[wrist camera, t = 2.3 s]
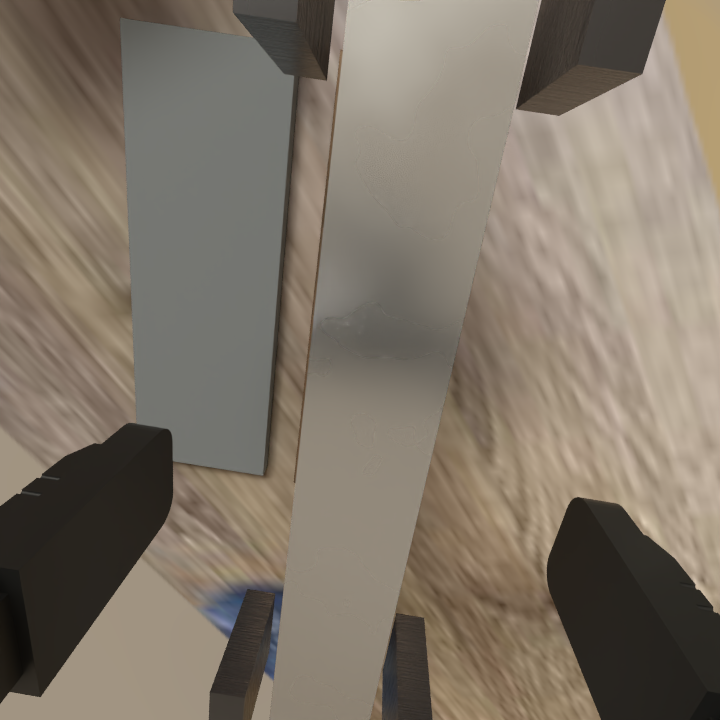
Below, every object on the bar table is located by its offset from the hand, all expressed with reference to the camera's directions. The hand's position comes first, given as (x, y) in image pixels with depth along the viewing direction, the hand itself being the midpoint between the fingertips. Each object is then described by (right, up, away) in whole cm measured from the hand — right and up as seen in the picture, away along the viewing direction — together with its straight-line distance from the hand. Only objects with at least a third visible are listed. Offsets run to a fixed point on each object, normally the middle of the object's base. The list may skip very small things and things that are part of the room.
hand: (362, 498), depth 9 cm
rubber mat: (-8, +7, +16) cm, 19 cm away
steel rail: (0, +1, +4) cm, 4 cm away
